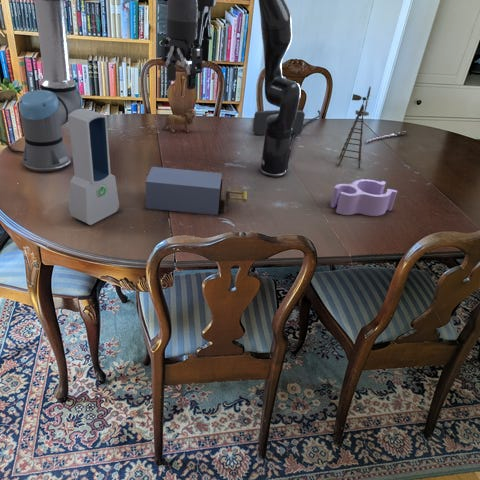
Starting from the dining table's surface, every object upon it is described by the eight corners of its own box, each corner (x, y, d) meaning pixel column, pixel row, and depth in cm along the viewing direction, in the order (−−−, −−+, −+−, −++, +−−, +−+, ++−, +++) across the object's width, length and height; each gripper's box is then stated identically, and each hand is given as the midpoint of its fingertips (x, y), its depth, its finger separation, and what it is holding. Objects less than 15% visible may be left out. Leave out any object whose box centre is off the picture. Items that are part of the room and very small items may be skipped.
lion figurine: (194, 127, 202) (194, 107, 197) (197, 132, 198) (198, 111, 193) (160, 128, 197) (160, 107, 192) (163, 133, 193) (163, 112, 188)
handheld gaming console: (299, 131, 211) (303, 109, 205) (302, 133, 208) (305, 111, 203) (251, 133, 203) (254, 110, 198) (254, 135, 201) (256, 112, 196)
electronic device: (87, 227, 129) (77, 121, 112) (68, 218, 132) (56, 113, 115) (120, 210, 138) (114, 110, 122) (101, 202, 141) (94, 103, 125)
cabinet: (220, 198, 150) (222, 173, 145) (217, 215, 141) (219, 188, 136) (152, 192, 149) (152, 166, 145) (145, 208, 140) (145, 181, 136)
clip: (342, 219, 146) (347, 199, 142) (324, 200, 156) (328, 181, 152) (396, 213, 152) (402, 195, 148) (375, 196, 162) (380, 178, 158)
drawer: (245, 199, 149) (248, 179, 145) (245, 214, 141) (247, 193, 137) (165, 191, 149) (165, 171, 145) (160, 206, 141) (160, 185, 137)
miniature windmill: (359, 169, 181) (379, 91, 164) (338, 165, 182) (355, 87, 165) (359, 160, 188) (378, 84, 172) (338, 156, 189) (355, 81, 173)
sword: (403, 131, 224) (404, 129, 223) (408, 133, 222) (409, 131, 221) (360, 143, 208) (360, 140, 207) (365, 145, 206) (366, 142, 205)
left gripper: (208, -5, 126) (204, 75, 138) (222, -12, 147) (217, 58, 159) (181, -8, 127) (179, 72, 138) (199, -15, 148) (196, 56, 159)
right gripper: (212, 22, 113) (209, 90, 121) (177, 12, 121) (176, 76, 130) (187, 23, 108) (185, 93, 117) (153, 13, 116) (153, 79, 125)
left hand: (200, 65), depth 149 cm, fingers open, 13 cm apart
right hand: (181, 84), depth 123 cm, fingers open, 8 cm apart
